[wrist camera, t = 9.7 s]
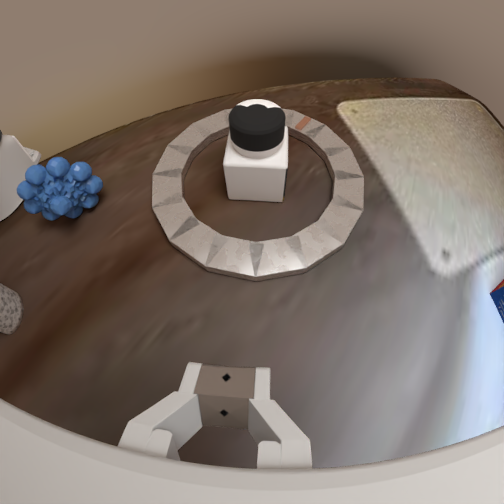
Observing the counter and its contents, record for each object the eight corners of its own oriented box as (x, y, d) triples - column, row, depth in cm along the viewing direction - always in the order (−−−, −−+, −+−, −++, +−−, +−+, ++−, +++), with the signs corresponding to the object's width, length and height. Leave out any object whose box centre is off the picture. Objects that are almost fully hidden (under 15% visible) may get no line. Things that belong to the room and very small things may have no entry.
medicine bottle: (283, 203, 38) (291, 135, 27) (227, 200, 38) (217, 132, 27) (284, 161, 41) (290, 94, 30) (234, 159, 41) (227, 91, 30)
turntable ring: (116, 205, 38) (111, 197, 37) (237, 95, 48) (236, 87, 46) (290, 327, 31) (292, 324, 30) (387, 166, 40) (391, 157, 39)
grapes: (51, 254, 36) (1, 211, 25) (48, 218, 38) (5, 173, 27) (117, 219, 38) (77, 162, 27) (109, 184, 40) (75, 128, 29)
